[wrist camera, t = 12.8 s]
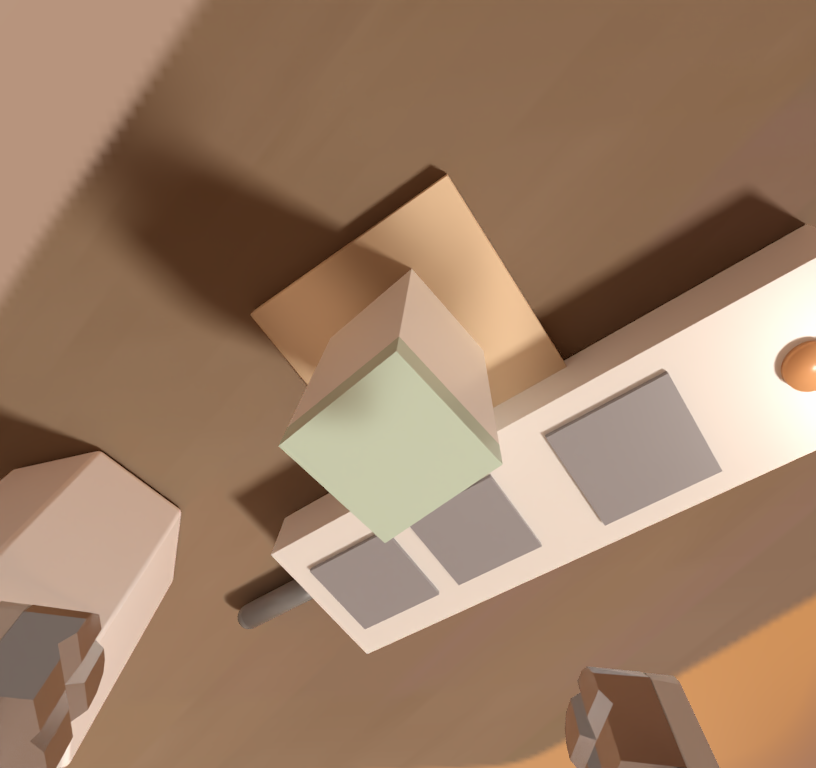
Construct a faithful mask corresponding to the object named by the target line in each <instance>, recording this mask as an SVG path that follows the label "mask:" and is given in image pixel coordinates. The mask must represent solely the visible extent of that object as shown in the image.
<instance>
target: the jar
mask: <svg viewBox="0 0 816 768" xmlns="http://www.w3.org/2000/svg"><path fill="white" fill-rule="evenodd" d="M180 520H181V511H180V509H179V508H178V507H176V506H175V505H174V504H172V503H171V502H170V501H168V500H167V499H166V498H164V497H163V496H161V495H160V494H159V493H157V492H156V491H155V490H153V489H152V488H151V487H149V486H148V485H147V484H145V483H144V482H142V481H141V480H140V479H138V478H137V477H136V476H134V475H133V474H132V473H130V472H129V471H128V470H126V469H125V468H123V467H122V466H121V465H119V464H118V463H117V462H115V461H114V460H113V459H111V458H110V457H109V456H107V455H106V454H104V453H103V452H101V451H95V452H91V453H86V454H81V455H77V456H72V457H68V458H63V459H59V460H54V461H50V462H45V463H41V464H36V465H32V466H27V467H22V468H18V469H14V470H12V471H11V472H10V473H9V474H8V475H6V476H5V477H4V478H3V479H2V480H1V481H0V602H1V601H6V602H14V603H22V604H30V605H39V606H46V607H53V608H61V609H68V610H75V611H82V612H90V613H95V614H99V616H100V622H101V628H102V629H101V631H100V633H99V634H98V636H97V638H96V639H95V640H96V641H97V642H98V643H99V644H100V645H101V646H102V647H103V648H104V655H105V663H104V672H103V676H102V679H101V682H100V685H99V688H98V691H97V693H96V695H95V697H94V699H93V701H92V703H91V705H90V707H89V709H88V710H87V711H86V712H84V713H83V714H81V715H80V716H79V717H77V718H76V719H74V720H73V721H72V722H71V726H72V733H73V738H72V740H71V742H70V744H69V745H68V747H67V749H66V751H65V753H64V755H63V756H62V758H61V760H60V762H59V764H58V765H57V767H56V768H63V767H65V766H67V765H68V764H69V763H70V762H71V760H72V758H73V756H74V755H75V753H76V751H77V749H78V748H79V746H80V744H81V742H82V741H83V739H84V737H85V735H86V733H87V732H88V730H89V728H90V726H91V725H92V723H93V721H94V719H95V718H96V716H97V714H98V712H99V710H100V709H101V707H102V705H103V703H104V702H105V700H106V698H107V696H108V695H109V693H110V691H111V689H112V687H113V686H114V684H115V682H116V680H117V679H118V677H119V675H120V673H121V672H122V670H123V668H124V666H125V664H126V663H127V661H128V659H129V657H130V656H131V654H132V652H133V650H134V649H135V647H136V645H137V643H138V641H139V640H140V638H141V636H142V634H143V633H144V631H145V629H146V627H147V626H148V624H149V622H150V620H151V618H152V617H153V615H154V613H155V611H156V610H157V608H158V606H159V604H160V603H161V601H162V599H163V597H164V595H165V594H166V592H167V590H168V588H169V587H170V585H171V583H172V581H173V576H174V568H175V560H176V552H177V544H178V536H179V528H180Z"/></svg>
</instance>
